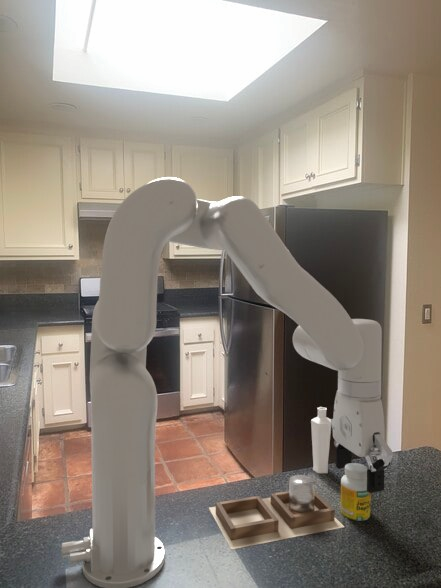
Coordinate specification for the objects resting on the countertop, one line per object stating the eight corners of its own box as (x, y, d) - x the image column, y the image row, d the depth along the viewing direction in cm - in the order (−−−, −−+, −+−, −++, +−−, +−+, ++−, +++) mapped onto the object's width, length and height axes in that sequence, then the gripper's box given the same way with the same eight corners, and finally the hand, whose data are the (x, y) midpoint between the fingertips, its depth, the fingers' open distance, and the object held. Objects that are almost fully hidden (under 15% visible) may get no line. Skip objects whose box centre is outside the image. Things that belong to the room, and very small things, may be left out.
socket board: (231, 555, 72) (231, 537, 71) (208, 512, 84) (208, 497, 84) (344, 532, 78) (345, 515, 78) (308, 496, 90) (308, 481, 90)
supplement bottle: (353, 506, 87) (354, 458, 86) (376, 520, 82) (378, 469, 81) (333, 515, 84) (335, 465, 83) (357, 529, 79) (358, 476, 78)
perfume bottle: (323, 481, 97) (325, 413, 96) (307, 474, 100) (308, 408, 99) (335, 474, 100) (337, 409, 99) (319, 468, 103) (321, 404, 102)
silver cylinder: (295, 521, 80) (296, 488, 79) (284, 507, 84) (284, 476, 84) (319, 516, 81) (319, 484, 81) (306, 503, 86) (307, 473, 85)
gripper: (316, 377, 88) (316, 461, 90) (371, 403, 72) (370, 506, 73) (349, 374, 91) (349, 456, 92) (409, 398, 74) (408, 498, 75)
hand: (358, 478), depth 83 cm, fingers open, 9 cm apart
